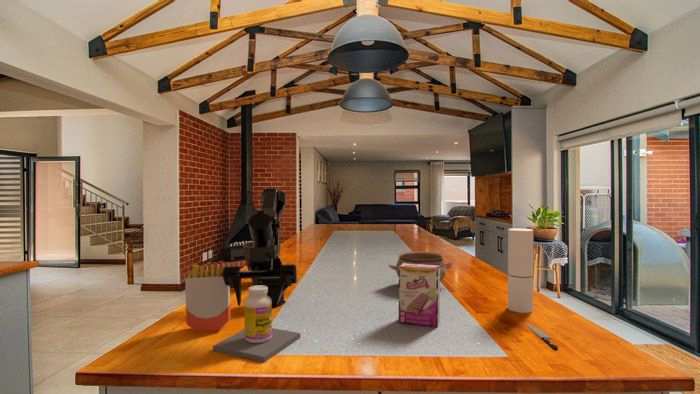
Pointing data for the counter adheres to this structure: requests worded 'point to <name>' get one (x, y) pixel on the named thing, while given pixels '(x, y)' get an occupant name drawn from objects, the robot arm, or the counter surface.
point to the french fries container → (207, 299)
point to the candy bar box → (419, 294)
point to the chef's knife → (542, 336)
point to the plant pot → (246, 253)
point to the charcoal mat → (257, 345)
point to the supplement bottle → (258, 315)
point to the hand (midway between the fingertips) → (257, 304)
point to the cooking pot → (423, 261)
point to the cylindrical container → (520, 270)
